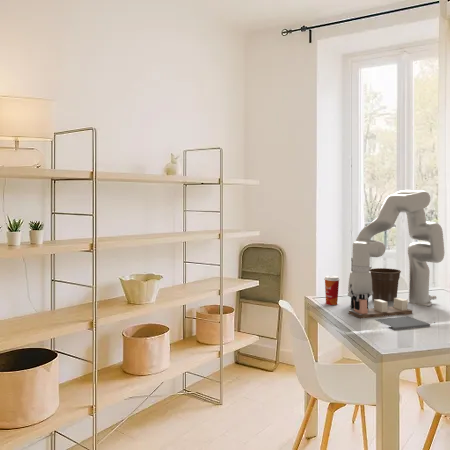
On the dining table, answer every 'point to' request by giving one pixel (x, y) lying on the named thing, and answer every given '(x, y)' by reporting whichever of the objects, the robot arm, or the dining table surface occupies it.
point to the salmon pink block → (362, 307)
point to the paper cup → (331, 289)
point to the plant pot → (385, 283)
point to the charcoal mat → (403, 323)
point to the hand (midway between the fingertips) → (360, 308)
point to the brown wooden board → (380, 313)
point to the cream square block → (400, 303)
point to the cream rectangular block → (380, 305)
